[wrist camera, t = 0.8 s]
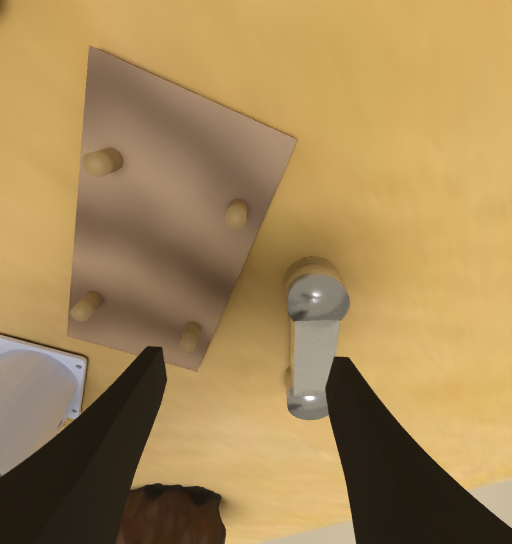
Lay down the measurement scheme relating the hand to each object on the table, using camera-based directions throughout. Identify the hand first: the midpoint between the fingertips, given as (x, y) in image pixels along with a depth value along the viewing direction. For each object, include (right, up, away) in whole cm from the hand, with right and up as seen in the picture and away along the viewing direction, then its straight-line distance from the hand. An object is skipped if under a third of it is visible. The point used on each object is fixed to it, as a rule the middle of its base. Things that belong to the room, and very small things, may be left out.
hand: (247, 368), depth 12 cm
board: (-6, +6, +8) cm, 12 cm away
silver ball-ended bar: (+5, -1, +12) cm, 13 cm away
